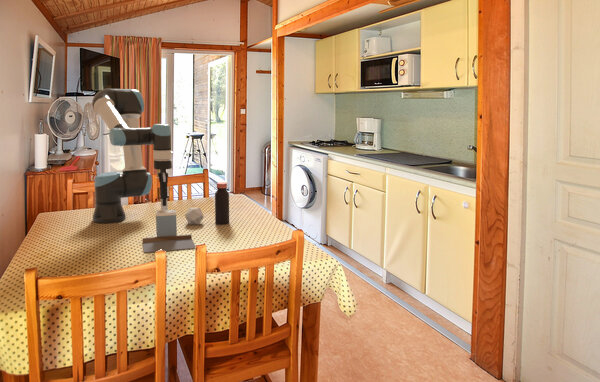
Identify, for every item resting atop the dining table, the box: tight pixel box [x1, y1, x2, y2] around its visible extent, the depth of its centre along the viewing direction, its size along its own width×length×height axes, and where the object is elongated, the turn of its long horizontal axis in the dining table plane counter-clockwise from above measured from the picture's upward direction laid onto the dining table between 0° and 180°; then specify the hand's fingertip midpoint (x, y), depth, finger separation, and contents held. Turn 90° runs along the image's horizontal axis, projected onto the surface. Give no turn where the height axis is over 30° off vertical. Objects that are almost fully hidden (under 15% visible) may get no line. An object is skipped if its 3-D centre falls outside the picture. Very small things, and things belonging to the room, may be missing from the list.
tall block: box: [155, 209, 178, 237], centre depth 200 cm, size 5×8×12 cm, turn 111°
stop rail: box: [142, 233, 193, 243], centre depth 198 cm, size 1×20×2 cm, turn 111°
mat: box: [142, 239, 196, 254], centre depth 191 cm, size 14×20×1 cm
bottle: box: [214, 181, 230, 226], centre depth 228 cm, size 7×7×20 cm
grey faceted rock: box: [184, 207, 205, 225], centre depth 227 cm, size 8×9×10 cm
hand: (164, 212), depth 208 cm, fingers closed
